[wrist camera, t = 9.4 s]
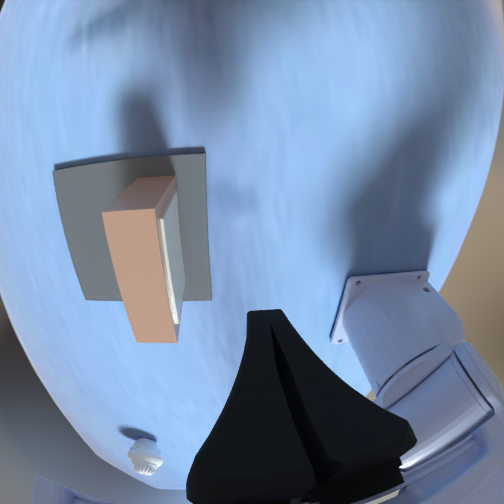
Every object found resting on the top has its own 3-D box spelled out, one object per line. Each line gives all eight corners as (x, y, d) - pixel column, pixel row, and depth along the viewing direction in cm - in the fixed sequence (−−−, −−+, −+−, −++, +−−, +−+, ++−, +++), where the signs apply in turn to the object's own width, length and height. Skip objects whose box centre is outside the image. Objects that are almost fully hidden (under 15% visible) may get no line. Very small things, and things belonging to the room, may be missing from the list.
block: (178, 175, 16) (157, 208, 11) (187, 282, 20) (180, 343, 15) (137, 178, 16) (101, 212, 10) (153, 283, 20) (136, 342, 14)
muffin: (122, 435, 34) (118, 469, 28) (148, 433, 34) (145, 470, 28) (145, 447, 37) (143, 479, 31) (171, 445, 37) (170, 479, 31)
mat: (205, 152, 16) (205, 153, 16) (211, 297, 21) (211, 300, 21) (55, 169, 15) (52, 171, 14) (87, 297, 20) (85, 300, 20)
